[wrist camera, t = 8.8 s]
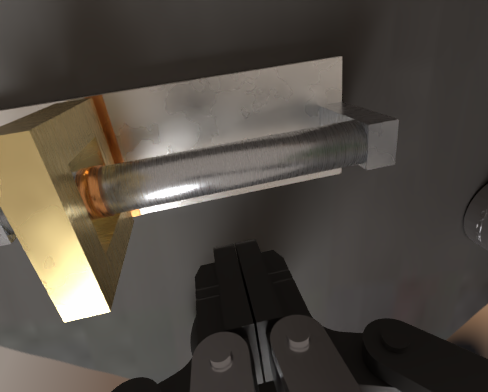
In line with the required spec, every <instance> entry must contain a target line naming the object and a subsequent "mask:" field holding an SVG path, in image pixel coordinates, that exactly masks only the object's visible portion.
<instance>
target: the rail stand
mask: <svg viewBox="0 0 488 392" xmlns="http://www.w3.org/2000/svg"><path fill="white" fill-rule="evenodd" d="M86 98H92V99H93V102H94V105H95V108H96V111H97V114H98V117H99V120H100V123H101V126H102V129H103V132H104V135H105V138H106V140H107V143H108V146H109V149H110V152H111V155H112V158H113V161H114V164H112V165H107V166H103V165H97V166H92V167H87V168H81V169H79V170H78V171H74V172H71V173H72V175H73V178H74V180H75V183H76V185H77V187H78V190H79V192H80V195H81V197H82V200H83V202H84V204H85V207H86V209H87V212H88V214H89V216H90V219H91V220H95V219H100V218H105V217H110V216H114V215H115V214H116V213H121V212H126V211H131V214H132V217H134V216H139V215H141V214H146V213H151V212H156V211H160V210H165V209H170V208H175V207H180V206H185V205H190V204H195V203H199V202H204V201H209V200H214V199H219V198H224V197H229V196H234V195H238V194H243V193H248V192H253V191H258V190H263V189H268V188H272V187H277V186H282V185H287V184H292V183H297V182H302V181H307V180H311V179H316V178H321V177H326V176H331V175H336V174H341V168H343V167H348V166H352V165H357V164H358V165H359V166H361V167H362V168H364V169H366V170H371V169H375V168H380V167H385V166H390V165H395V158H396V147H397V136H398V125H399V119H396V118H393V117H390V116H387V115H383V114H380V113H377V112H374V111H370V110H367V109H364V108H360V107H357V106H354V105H351V104H347V103H344V102H342V56H334V57H328V58H321V59H315V60H309V61H302V62H296V63H290V64H284V65H277V66H271V67H265V68H259V69H252V70H246V71H240V72H233V73H227V74H221V75H215V76H208V77H202V78H196V79H190V80H183V81H177V82H171V83H164V84H158V85H152V86H146V87H139V88H133V89H127V90H121V91H114V92H108V93H102V94H95V95H89V96H83V97H77V98H70V99H64V100H58V101H52V102H45V103H39V104H33V105H26V106H20V107H14V108H8V109H1V110H0V126H3V125H5V124H7V123H10V122H12V121H15V120H17V119H19V118H22V117H24V116H27V115H29V114H31V113H34V112H36V111H38V110H41V109H43V108H46V107H48V106H50V105H53V104H55V103H61V102H67V101H73V100H80V99H86ZM16 238H17V236H16V234H15V232H14V230H13V229H12V227H11V225H10V223H9V221H8V220H7V218H6V216H5V214H4V212H3V211H2V209H1V207H0V246H2V245H7V244H11V243H12V242H13V241H14V240H15V239H16Z"/></svg>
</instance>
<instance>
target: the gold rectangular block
mask: <svg viewBox="0 0 488 392" xmlns="http://www.w3.org/2000/svg"><path fill="white" fill-rule="evenodd" d="M112 164H114V161H113V158H112V155H111V152H110V149H109V146H108V143H107V140H106V138H105V135H104V132H103V129H102V126H101V123H100V120H99V117H98V114H97V111H96V108H95V105H94V102H93V99H92V98H86V99H80V100H73V101H67V102H61V103H55V104H53V105H50V106H48V107H46V108H43V109H41V110H38V111H36V112H34V113H31V114H29V115H27V116H24V117H22V118H19V119H17V120H15V121H12V122H10V123H7V124H5V125H3V126H0V207H1V209H2V211H3V212H4V214H5V216H6V218H7V220H8V221H9V223H10V225H11V227H12V229H13V230H14V232H15V234H16V236H17V238H18V240H19V241H20V243H21V245H22V247H23V249H24V250H25V252H26V254H27V256H28V258H29V259H30V261H31V263H32V265H33V267H34V268H35V270H36V272H37V274H38V276H39V278H40V279H41V281H42V283H43V285H44V287H45V288H46V290H47V292H48V294H49V296H50V297H51V299H52V301H53V303H54V305H55V306H56V308H57V310H58V312H59V314H60V315H61V317H62V319H63V321H64V322H68V321H73V320H77V319H81V318H85V317H89V316H94V315H98V314H102V313H106V312H110V311H111V307H112V303H113V299H114V296H115V292H116V288H117V284H118V280H119V277H120V273H121V269H122V265H123V261H124V258H125V254H126V250H127V246H128V242H129V239H130V235H131V231H132V227H133V223H134V220H133V217H132V214H131V211H126V212H121V213H116V214H115V215H114V216H110V217H105V218H100V219H95V220H91V219H90V216H89V214H88V212H87V209H86V207H85V204H84V202H83V200H82V197H81V195H80V192H79V190H78V187H77V185H76V183H75V180H74V178H73V175H72V173H71V172H74V171H78V170H79V169H81V168H87V167H92V166H97V165H103V166H107V165H112Z"/></svg>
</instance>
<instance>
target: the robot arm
mask: <svg viewBox="0 0 488 392" xmlns="http://www.w3.org/2000/svg"><path fill="white" fill-rule="evenodd" d="M464 231H465V233H466V235H467V236H468V237H469V238H470V239H471V240H472V241H474V242H475V243H477V244H478V245H480V246H481V247H483V248H484V249H486V250H488V184H487V185H485V186H484V187H483V188H482V189H481V190H480V191H479V192H478V193H477V194H476V196H475V197H474V198H473V200H472V201H471V203H470V205H469V207H468V209H467V211H466V214H465V217H464ZM235 246H236V251H235V248H234V244H230V245H225V246H221V247H216V248H213V250H214V257H215V263H211V264H207V265H202V266H200V268H199V270H198V272H197V274H196V276H195V288H196V311H197V334H198V344H197V347H196V349H195V351H194V354H193V357H192V359H191V360H190V361H189V363H188V364H187V365H186V366H185V367H184V368H183V369H181V370H180V371H179V372H177V373H176V374H174V375H172V376H171V377H169V378H167V379H166V380H164V381H162V382H160V383H159V384H157V383H156V382H155V381H153V380H151V379H149V378H144V377H140V378H134V379H131V380H128V381H126V382H124V383H122V384H121V385H119V386H117V387H116V388H115V389H114V390H113V391H112V392H259V388H258V384H262V383H263V377H262V371H261V365H260V360H261V364H262V369H263V373H264V377H265V381H266V382H269V381H272V380H274V384H275V387H276V391H277V392H488V359H486V358H484V357H482V356H479V355H477V354H475V353H473V352H471V351H468V350H466V349H464V348H461V347H459V346H457V345H455V344H452V343H450V342H448V341H446V340H443V339H441V338H439V337H437V336H434V335H432V334H430V333H427V332H425V331H423V330H421V329H418V328H416V327H414V326H412V325H409V324H407V323H405V322H402V321H399V320H395V319H378V320H375V321H373V322H371V323H369V324H368V325H367V326H366V328H365V330H364V332H363V333H350V332H338V331H333V330H330V329H327V328H325V327H323V326H322V325H321V324H320V323H319V322H318V321H316V320H315V319H313V317H312V316H311V314H310V313H309V311H308V309H307V306H306V304H305V302H304V300H303V298H302V296H301V294H300V292H299V290H298V288H297V286H296V283H295V281H294V279H293V278H292V275H291V273H290V271H289V270H288V267H287V265H286V263H285V260H284V258H283V257H282V256H280V255H279V254H278V253H276V252H275V251H274V250H271V251H267V252H262V253H261V252H260V250H259V247H258V244H257V242H256V240H255V239H254V240H249V241H244V242H239V243H235ZM236 252H237V255H236ZM237 258H238V259H237ZM259 356H260V358H259Z"/></svg>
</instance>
